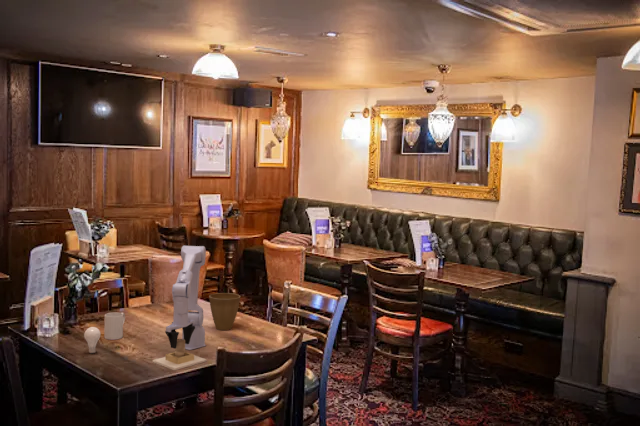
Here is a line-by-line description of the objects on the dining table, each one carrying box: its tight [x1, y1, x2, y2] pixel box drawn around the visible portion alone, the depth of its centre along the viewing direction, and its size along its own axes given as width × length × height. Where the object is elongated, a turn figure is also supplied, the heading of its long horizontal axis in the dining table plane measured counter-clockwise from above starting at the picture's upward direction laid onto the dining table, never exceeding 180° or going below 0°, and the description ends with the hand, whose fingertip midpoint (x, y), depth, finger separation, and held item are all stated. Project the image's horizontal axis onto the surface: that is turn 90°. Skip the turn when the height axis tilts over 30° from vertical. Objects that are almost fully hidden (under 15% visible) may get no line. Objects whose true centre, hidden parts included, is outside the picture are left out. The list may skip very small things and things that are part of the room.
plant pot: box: [208, 292, 241, 331], centre depth 314 cm, size 15×15×16 cm
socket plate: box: [152, 351, 208, 371], centre depth 262 cm, size 16×14×3 cm
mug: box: [103, 311, 126, 341], centre depth 293 cm, size 12×8×10 cm, turn 165°
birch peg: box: [174, 338, 186, 358], centre depth 262 cm, size 4×4×8 cm
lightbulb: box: [83, 326, 102, 354], centre depth 268 cm, size 6×6×11 cm
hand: (180, 345), depth 261 cm, fingers open, 7 cm apart
